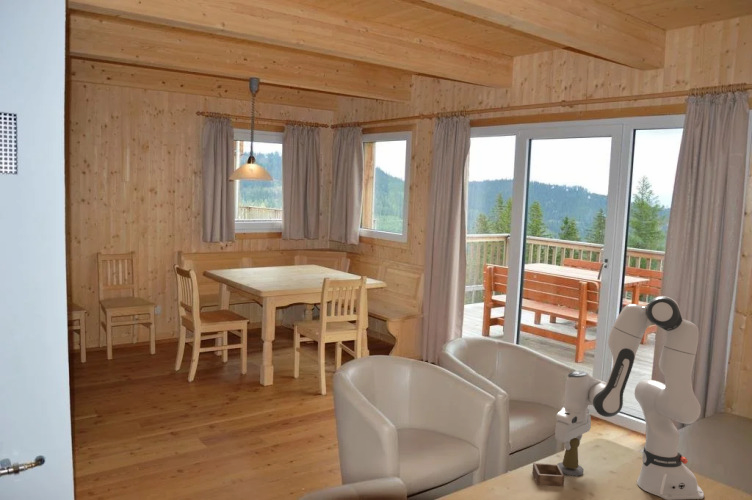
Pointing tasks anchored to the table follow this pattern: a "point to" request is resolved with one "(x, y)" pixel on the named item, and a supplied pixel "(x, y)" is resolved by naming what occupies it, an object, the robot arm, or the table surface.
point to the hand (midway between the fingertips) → (572, 447)
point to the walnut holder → (548, 474)
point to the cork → (572, 455)
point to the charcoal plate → (571, 470)
